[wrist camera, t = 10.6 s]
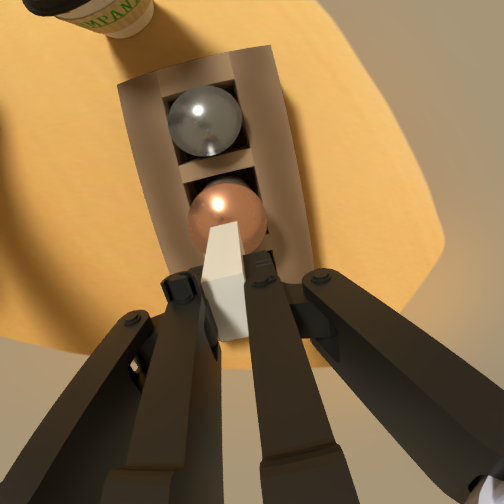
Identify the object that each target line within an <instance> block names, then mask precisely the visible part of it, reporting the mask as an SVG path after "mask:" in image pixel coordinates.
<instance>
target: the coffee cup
mask: <svg viewBox="0 0 504 504" xmlns="http://www.w3.org/2000/svg"><path fill="white" fill-rule="evenodd" d="M22 1H23V4H24V5H25V7H26V8H27V9H28V10H29V11H30V12H32V13H33V14H35V15H38V16H43V17H45V16H54V17H56V18H58V19H60V20H63V21H66V22H69V23H72V24H75V25H78V26H80V27H83V28H86V29H88V30H91V31H93V32H97V33H102V34H104V35H106V36H109V37H111V38H116V39H122V38H127V37H130V36H133V35H135V34H137V33H138V32H140V31H141V30H142V29H144V28H145V27H146V26H147V25H148V23H149V22H150V21H151V19H152V17H153V13H154V4H153V0H22Z"/></svg>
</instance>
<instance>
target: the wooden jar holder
mask: <svg viewBox="0 0 504 504" xmlns="http://www.w3.org/2000/svg"><path fill="white" fill-rule="evenodd" d="M205 85H207V86H215V87H218V88H221V89H223V90H225V91H231V90H233V92H234V96H235V100H236V102H237V103H238V105H239V107H240V110H241V115H242V124H241V126H242V130H243V135H244V139H245V144H246V146H245V147H241V148H236V149H232V150H227V151H223V152H220V153H218V154H215V155H212V156H203V157H199V158H196V159H192V160H188V159H187V156H186V152H185V151H183V150H182V149H180V148H179V147H178V146H177V145H176V144H175V142H174V141H173V139H172V137H171V135H170V133H169V129H168V116H169V112H170V109H171V107H172V105H173V103H174V102H175V101H176V99H177V98H178V97H179V96H180V95H181V94H183V93H184V92H186V91H187V90H189V89H191V88H194V87H197V86H205ZM117 88H118V93H119V97H120V102H121V107H122V111H123V116H124V120H125V124H126V129H127V133H128V137H129V141H130V145H131V149H132V153H133V157H134V160H135V164H136V168H137V171H138V175H139V179H140V182H141V186H142V189H143V193H144V196H145V199H146V203H147V206H148V209H149V213H150V216H151V219H152V222H153V225H154V229H155V232H156V235H157V238H158V241H159V244H160V247H161V250H162V253H163V256H164V259H165V261H166V264H167V267H168V270H169V273H170V275H172V274H174V273H177V272H181V271H188V270H189V269H190V268H193V267H197V266H201V265H204V261H205V255H206V254H204V253H203V252H202V251H200V250H199V249H198V248H197V247H196V246H195V244H194V243H193V241H192V239H191V237H190V235H189V232H188V226H187V218H188V213H189V210H190V207H191V205H192V203H193V201H194V200H195V198H196V197H197V194H196V190H195V186H194V183H193V181H194V180H198V179H202V178H206V177H210V176H214V175H218V174H222V173H226V172H230V171H235V170H239V169H243V168H248V167H251V170H252V175H253V179H254V184H255V188H256V193H257V196H258V197H259V199H260V200H261V202H262V204H263V206H264V208H265V211H266V214H267V229H266V233H265V236H264V238H263V240H262V242H261V243H260V245H259V246H258V247H257V248H256V249H255V250H254V251H253V252H251V253H254V252H258V251H263V250H264V251H269V253H270V256H271V259H272V262H273V265H274V268H275V270H276V273H277V275H278V276H279V277H280V279H281V281H282V282H285V283H290V284H300V283H302V278H303V276H304V275H305V274H306V273H308V272H310V271H313V270H315V267H314V260H313V253H312V246H311V240H310V233H309V227H308V221H307V215H306V209H305V203H304V197H303V191H302V186H301V180H300V175H299V169H298V164H297V159H296V154H295V149H294V144H293V139H292V134H291V129H290V125H289V120H288V115H287V111H286V106H285V102H284V98H283V93H282V89H281V85H280V81H279V76H278V72H277V68H276V64H275V60H274V56H273V52H272V49H271V45H266V46H259V47H252V48H246V49H241V50H235V51H230V52H225V53H221V54H216V55H211V56H207V57H203V58H199V59H195V60H191V61H187V62H184V63H180V64H176V65H173V66H170V67H166V68H163V69H160V70H157V71H154V72H151V73H148V74H145V75H142V76H139V77H136V78H133V79H131V80H128V81H125V82H123V83H120V84H118V85H117ZM218 341H221V340H220V337H219V334H218Z"/></svg>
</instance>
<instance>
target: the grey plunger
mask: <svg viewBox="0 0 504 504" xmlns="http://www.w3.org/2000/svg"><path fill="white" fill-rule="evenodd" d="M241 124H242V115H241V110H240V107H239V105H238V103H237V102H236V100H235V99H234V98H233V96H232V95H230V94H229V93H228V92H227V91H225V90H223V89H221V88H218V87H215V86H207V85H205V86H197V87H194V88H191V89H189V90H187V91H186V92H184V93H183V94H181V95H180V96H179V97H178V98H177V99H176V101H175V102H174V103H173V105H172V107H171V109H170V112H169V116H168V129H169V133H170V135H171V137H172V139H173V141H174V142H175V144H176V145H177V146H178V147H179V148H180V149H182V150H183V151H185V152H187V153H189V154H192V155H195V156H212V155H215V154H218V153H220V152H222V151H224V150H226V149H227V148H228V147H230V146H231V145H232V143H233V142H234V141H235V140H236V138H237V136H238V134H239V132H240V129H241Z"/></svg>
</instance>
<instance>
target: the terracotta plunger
mask: <svg viewBox="0 0 504 504" xmlns="http://www.w3.org/2000/svg"><path fill="white" fill-rule="evenodd" d="M235 221H237V223H238V227H239V231H240V235H241V239H242V244H243V248H244V252H245V254H250V253H251V252H253V251H254V250H255V249H256V248H257V247H258V246H259V245H260V243H261V242H262V240H263V238H264V236H265V233H266V229H267V214H266V211H265V208H264V206H263V204H262V202H261V200H260V199H259V197H258V196H257V195H256V194H255V193H254V192H253V191H252V190H251V188H250V187H249V186H248V184H247V183H246V182H244V181H243V180H242V179H240V178H237V177H234V176H220V177H217V178H215V179H213V180H211V181H210V182H209V183H208V184H207V185H206V186H205V187H204V189H203V191H202V192H200V193H199V194H198V196H197V197H196V198H195V200H194V201H193V203H192V205H191V207H190V210H189V213H188V218H187V226H188V232H189V235H190V237H191V239H192V241H193V243H194V244H195V246H196V247H197V248H198V249H199V250H200V251H202V252H203V253H204V254H206V249H207V244H208V238H209V233H210V227H215V226H219V225H223V224H227V223H231V222H235Z"/></svg>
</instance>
